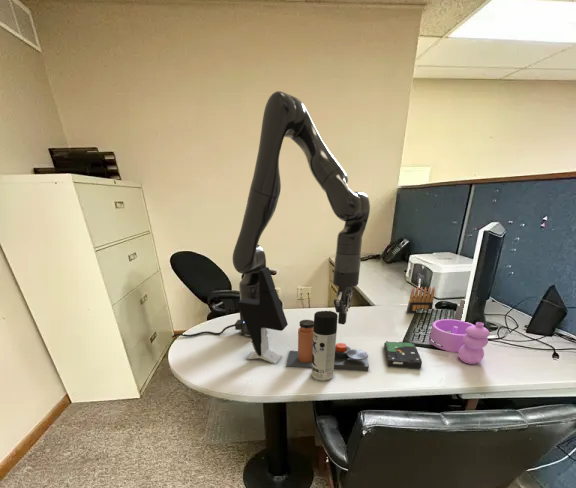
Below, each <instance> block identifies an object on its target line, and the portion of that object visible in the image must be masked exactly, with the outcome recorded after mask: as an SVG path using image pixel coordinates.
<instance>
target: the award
mask: <svg viewBox="0 0 576 488" xmlns="http://www.w3.org/2000/svg"><path fill="white" fill-rule="evenodd" d="M259 291H260V292H259V300H256V299H248V298H243V299H242V300H240V299H239V301H238V302H237V303H236V304H237V307H238V310H239V313H240V312H241V315H242V317H243V320H244V322H245V324H246V327H247V329H248V332H249V334H250V336H251V337H250V339H251V341H250V343H251V345H252V349H253V350H254V351H253V352H252V353H251V354H250V355H249V356H248V357H247V358H246V360H255V359H262V360H264V361H266V362H268V363H271V364H274V365H276V364H277V363H278V362H279V360H280V359H281V358H282V356H281V355H279V354H277V353H276V352H274V351H273V350H272V349H270V347H269V337H268V336H267V329H268V330H273V331H274V330H275V331H280V332H282V331H284V330H285V328H286V327H287V326H288V321H287V317H286V314H285V312H284V308H283V305H282V303H281V299H280V297H279V294H278V291H277V288H276V285H275V283H274V279H273V276H272V273H271V270H270V267H268V266H266V267H265V268H263V269H261V270H259Z"/></svg>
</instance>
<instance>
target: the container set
mask: <svg viewBox="0 0 576 488" xmlns="http://www.w3.org/2000/svg"><path fill="white" fill-rule="evenodd" d="M484 325H485V323H484V322H481V321H477V322H475V324H473V323H471V322H465V321H460V320H454V318H453V319H452V318H442V319H438V320H435V321H433V322H432V325H431V331H430V336H429V339H428V341H429V343H430V344H431V345H432V346H433V347H435V348H437V349H440V350H443V351H446V352H451V353H457V355H458V358H459V359H460V360H461V362H463V363H465V364H469V365H475V364H478V363H480V362H481V361H482V360H483V359H484V357H485V351H484V349H483V348H485V347H486V346H487V345H488V343H489V338H488V337H489V336H490V331H489V329H488V328H486V327H484ZM445 331H451V332H452V333H449V332H445ZM430 338H431V339H432V340H433V341H434V342H436V343H437V344H440V345H441V346H443V347H441V346H439V345H437V344H435V343H433V342H432V341H431V340H430Z"/></svg>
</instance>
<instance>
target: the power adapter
mask: <svg viewBox="0 0 576 488" xmlns="http://www.w3.org/2000/svg"><path fill="white" fill-rule="evenodd" d="M466 297H467V293H465V294H464V298H461V299H460V302H459V303H457V305H456V310H455V312H454V317H453V319H454V320H460V321H461V318H462V314H463V308H464V304H465V299H466Z"/></svg>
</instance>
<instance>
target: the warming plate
mask: <svg viewBox="0 0 576 488" xmlns="http://www.w3.org/2000/svg"><path fill="white" fill-rule="evenodd" d="M346 355H347V357H348V358H350V359H353V360H364V359H366V358H367V359H368V357H369V354H368V352H367V351H365V350H361V349H351V350H349V351H348V352H347V353H346Z"/></svg>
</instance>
